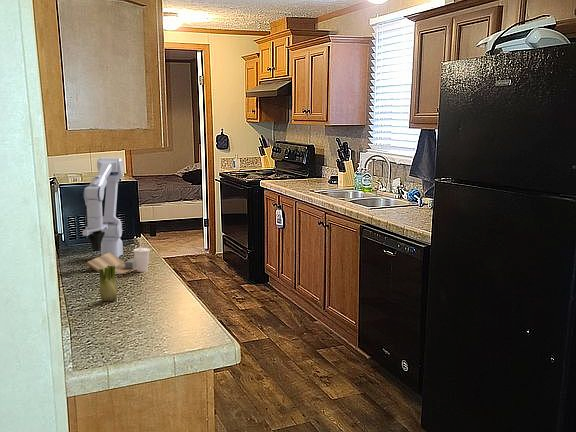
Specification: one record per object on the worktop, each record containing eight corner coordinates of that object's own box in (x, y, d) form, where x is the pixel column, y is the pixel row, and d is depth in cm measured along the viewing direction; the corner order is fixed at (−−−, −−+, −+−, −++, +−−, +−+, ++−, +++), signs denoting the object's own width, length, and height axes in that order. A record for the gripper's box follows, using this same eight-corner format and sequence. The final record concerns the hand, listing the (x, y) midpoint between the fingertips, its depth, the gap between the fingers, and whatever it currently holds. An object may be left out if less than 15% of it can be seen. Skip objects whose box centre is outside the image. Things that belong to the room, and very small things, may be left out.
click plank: (102, 274, 210) (103, 272, 210) (85, 264, 211) (87, 261, 211) (123, 264, 226) (124, 262, 225) (108, 254, 227) (109, 252, 226)
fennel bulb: (100, 303, 178) (99, 268, 176) (99, 299, 182) (97, 264, 180) (119, 301, 180) (117, 266, 178) (116, 297, 185) (115, 263, 183)
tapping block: (131, 264, 223) (131, 258, 222) (138, 264, 223) (138, 258, 222) (125, 268, 216) (125, 262, 216) (132, 268, 216) (132, 262, 215)
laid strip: (125, 265, 226) (125, 262, 225) (143, 266, 224) (143, 263, 224) (104, 275, 210) (104, 272, 210) (123, 277, 208) (123, 273, 208)
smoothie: (130, 274, 212) (129, 239, 210) (140, 270, 218) (139, 236, 215) (144, 276, 210) (142, 241, 207) (154, 272, 215) (153, 237, 213)
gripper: (96, 213, 222) (97, 245, 224) (74, 219, 208) (76, 253, 210) (111, 214, 220) (113, 246, 222) (91, 220, 206) (92, 254, 208)
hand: (96, 250), depth 216 cm, fingers closed
